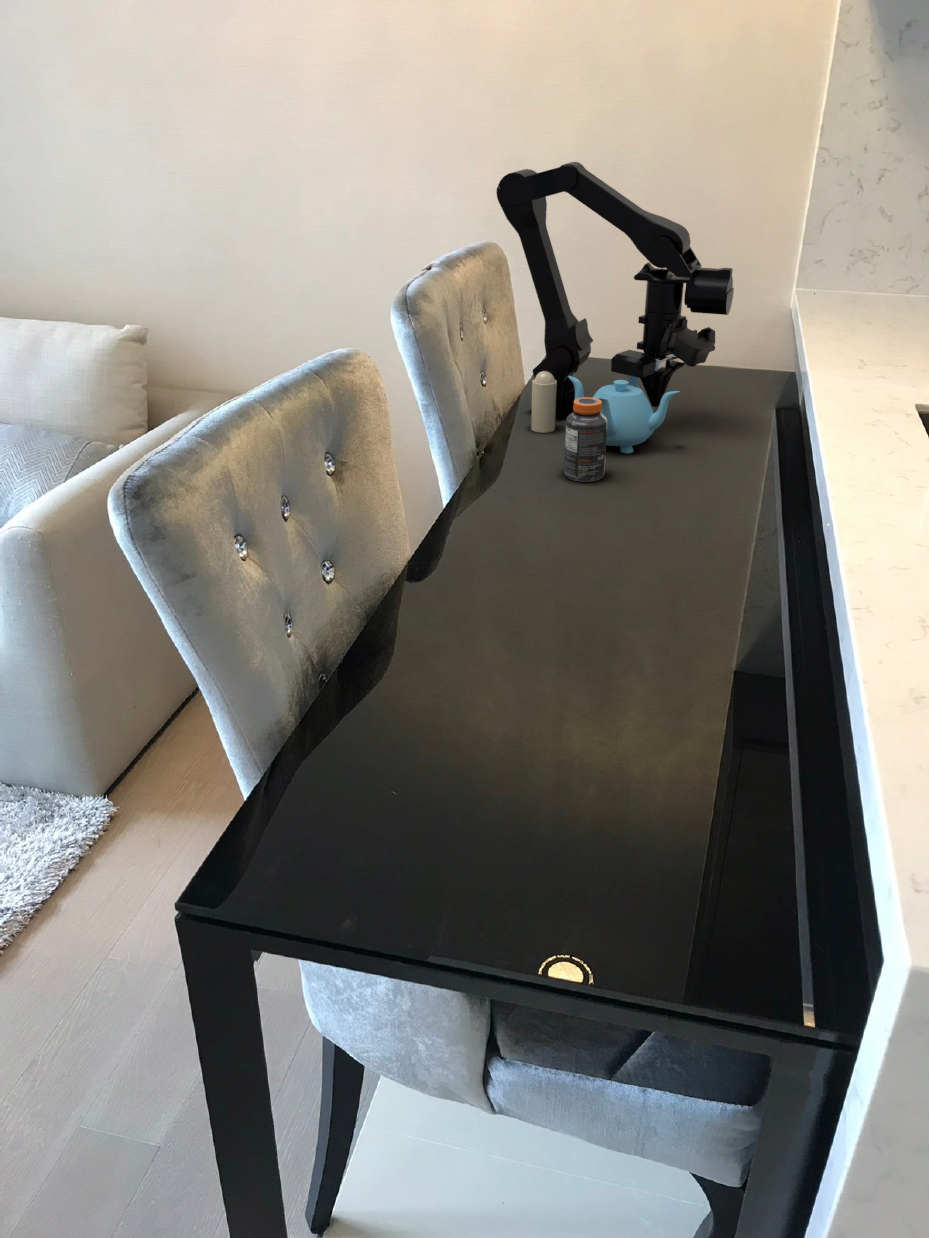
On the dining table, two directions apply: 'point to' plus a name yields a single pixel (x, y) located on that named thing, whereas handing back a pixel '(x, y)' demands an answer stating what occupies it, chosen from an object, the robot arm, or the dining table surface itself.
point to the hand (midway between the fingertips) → (655, 406)
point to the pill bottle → (585, 441)
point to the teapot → (627, 412)
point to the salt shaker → (543, 402)
